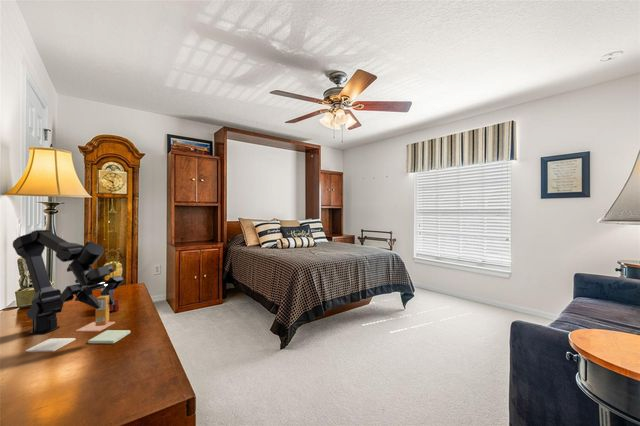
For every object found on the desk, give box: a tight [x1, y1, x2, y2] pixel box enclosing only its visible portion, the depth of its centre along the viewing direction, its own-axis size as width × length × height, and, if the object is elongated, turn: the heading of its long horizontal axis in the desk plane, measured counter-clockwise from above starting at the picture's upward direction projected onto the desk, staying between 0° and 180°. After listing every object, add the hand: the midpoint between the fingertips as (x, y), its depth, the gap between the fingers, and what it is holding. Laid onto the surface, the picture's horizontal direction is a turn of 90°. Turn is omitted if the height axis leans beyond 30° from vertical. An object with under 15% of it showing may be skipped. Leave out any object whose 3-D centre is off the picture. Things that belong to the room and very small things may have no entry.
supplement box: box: [94, 295, 110, 326], centre depth 102 cm, size 3×4×10 cm
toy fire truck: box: [109, 290, 120, 312], centre depth 135 cm, size 7×12×10 cm, turn 38°
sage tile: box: [87, 329, 131, 344], centre depth 105 cm, size 9×9×1 cm
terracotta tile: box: [75, 321, 116, 333], centre depth 115 cm, size 9×9×1 cm
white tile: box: [25, 337, 76, 353], centre depth 99 cm, size 9×9×1 cm
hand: (105, 306), depth 101 cm, fingers closed on supplement box, 4 cm apart
